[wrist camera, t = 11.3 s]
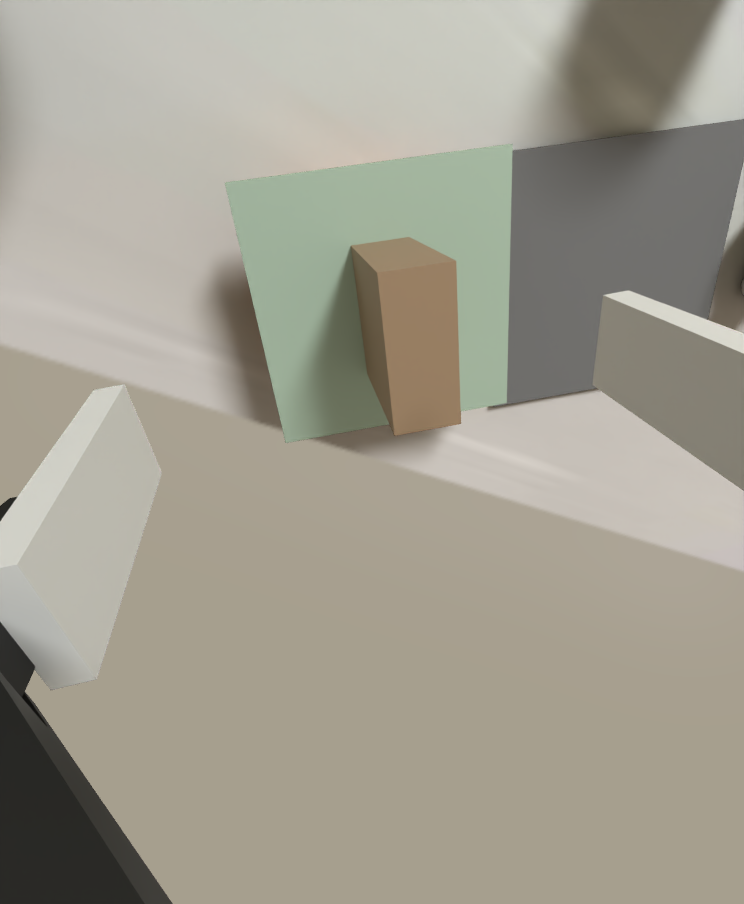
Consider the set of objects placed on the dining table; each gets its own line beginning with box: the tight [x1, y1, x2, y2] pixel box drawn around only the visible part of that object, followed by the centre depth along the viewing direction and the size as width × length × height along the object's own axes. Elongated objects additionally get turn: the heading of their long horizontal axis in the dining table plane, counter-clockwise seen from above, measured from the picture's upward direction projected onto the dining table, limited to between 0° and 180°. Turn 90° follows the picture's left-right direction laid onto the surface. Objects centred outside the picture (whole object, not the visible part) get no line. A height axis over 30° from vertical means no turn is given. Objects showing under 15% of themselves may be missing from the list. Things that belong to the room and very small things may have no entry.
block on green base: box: [225, 144, 513, 443], centre depth 28 cm, size 16×16×10 cm
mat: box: [493, 119, 744, 407], centre depth 40 cm, size 19×19×1 cm
